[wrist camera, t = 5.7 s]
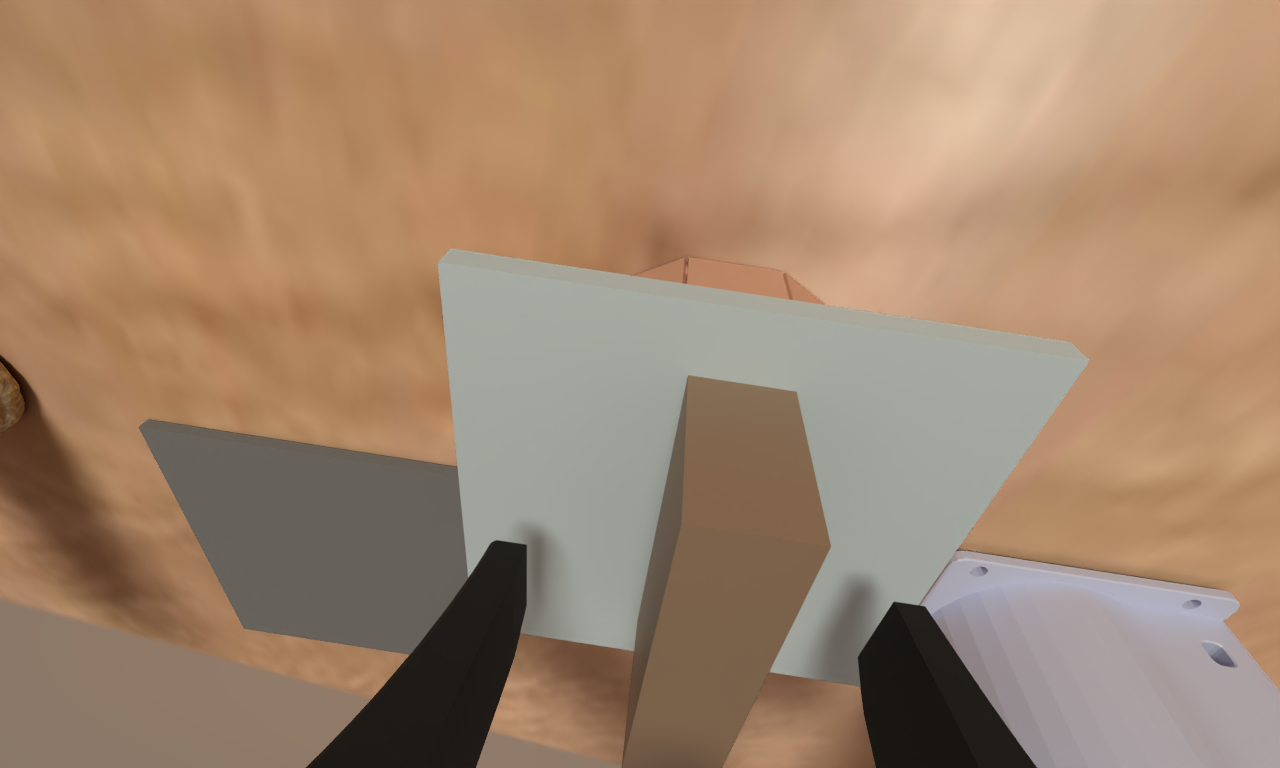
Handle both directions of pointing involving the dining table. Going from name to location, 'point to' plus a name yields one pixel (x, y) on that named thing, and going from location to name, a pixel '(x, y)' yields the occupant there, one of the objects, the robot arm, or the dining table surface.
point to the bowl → (732, 278)
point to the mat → (319, 533)
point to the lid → (723, 472)
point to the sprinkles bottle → (9, 400)
